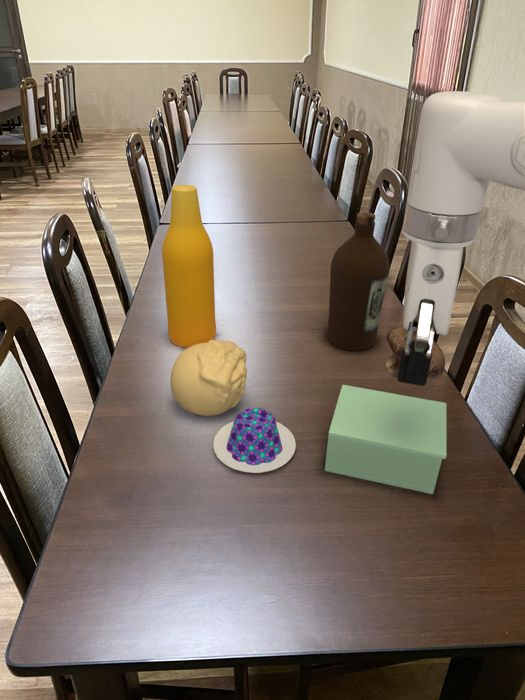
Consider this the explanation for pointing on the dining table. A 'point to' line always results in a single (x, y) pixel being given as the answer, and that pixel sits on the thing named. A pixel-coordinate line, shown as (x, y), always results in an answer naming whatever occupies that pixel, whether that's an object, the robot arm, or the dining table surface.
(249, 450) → the pudding
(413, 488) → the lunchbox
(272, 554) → the dining table surface
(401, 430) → the green flat panel
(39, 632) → the dining table surface
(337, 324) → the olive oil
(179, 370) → the sculpture
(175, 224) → the beer bottle
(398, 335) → the mushroom
